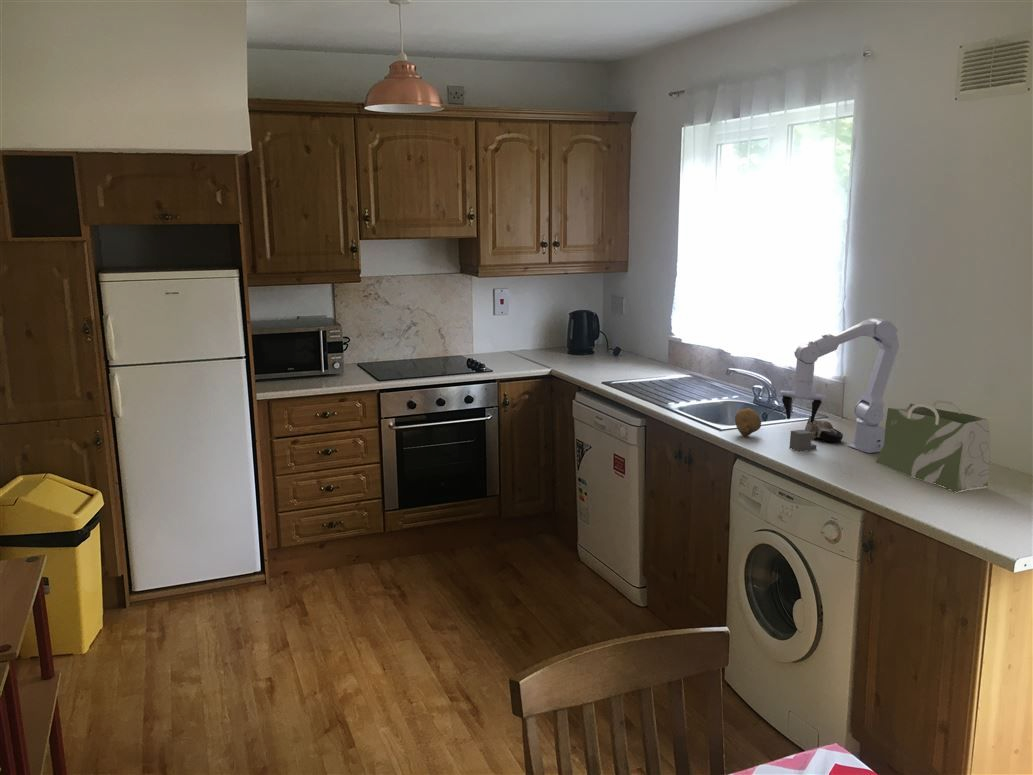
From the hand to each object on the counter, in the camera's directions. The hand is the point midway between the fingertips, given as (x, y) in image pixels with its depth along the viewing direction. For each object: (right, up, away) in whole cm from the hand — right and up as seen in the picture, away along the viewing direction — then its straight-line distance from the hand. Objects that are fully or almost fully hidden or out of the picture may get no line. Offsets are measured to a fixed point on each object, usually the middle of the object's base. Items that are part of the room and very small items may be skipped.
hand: (800, 420), depth 291 cm
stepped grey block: (+1, -10, 0) cm, 10 cm away
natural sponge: (-14, -6, +15) cm, 22 cm away
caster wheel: (+13, -8, +13) cm, 20 cm away
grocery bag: (+31, -16, -26) cm, 43 cm away
